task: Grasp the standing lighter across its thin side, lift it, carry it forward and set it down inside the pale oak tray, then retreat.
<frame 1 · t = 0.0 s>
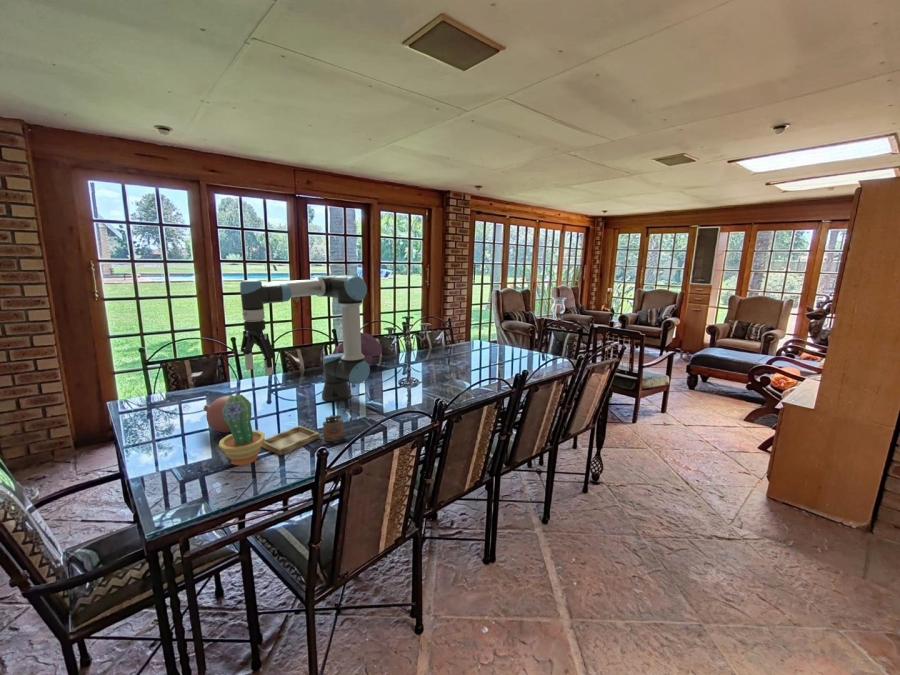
hand: (259, 372, 160), 28 cm above the table, fingers open, 13 cm apart
brown rounded piece: (225, 430, 172), on the table
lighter: (334, 439, 165), on the table
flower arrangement: (353, 371, 261), on the table
tray: (290, 441, 162), on the table
potted cactus: (244, 459, 148), on the table
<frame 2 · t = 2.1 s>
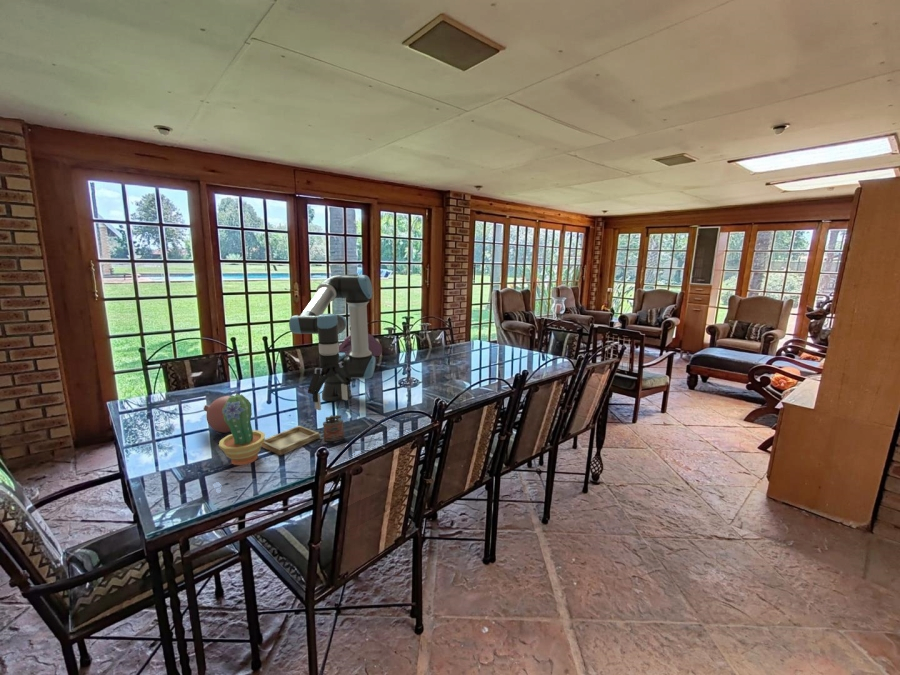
hand: (331, 404, 162), 15 cm above the table, fingers open, 13 cm apart
nothing on the table moved.
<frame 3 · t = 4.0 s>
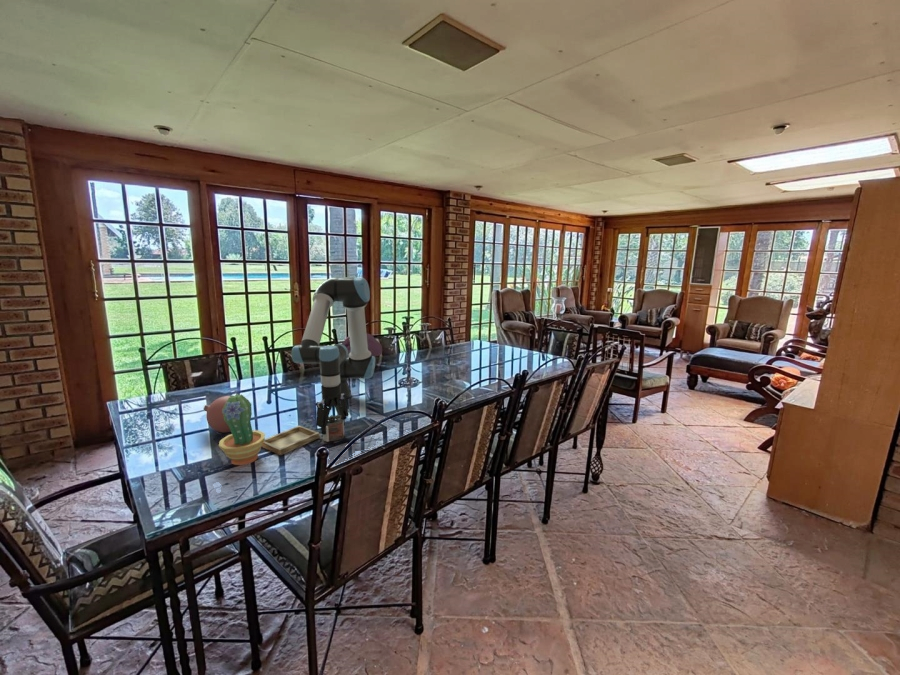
hand: (333, 437, 165), 1 cm above the table, fingers closed on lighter, 7 cm apart
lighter: (334, 438, 165), on the table, touching gripper
everything else where it was.
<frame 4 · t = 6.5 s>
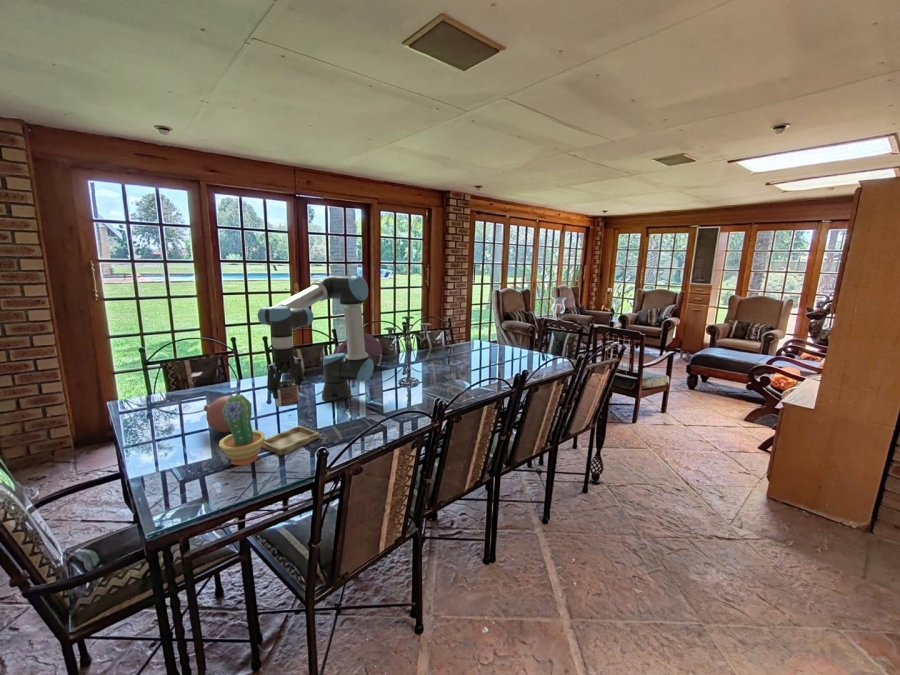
hand: (287, 402, 158), 17 cm above the table, fingers closed on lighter, 7 cm apart
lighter: (287, 404, 158), point 16 cm above the table, touching gripper
everything else where it was.
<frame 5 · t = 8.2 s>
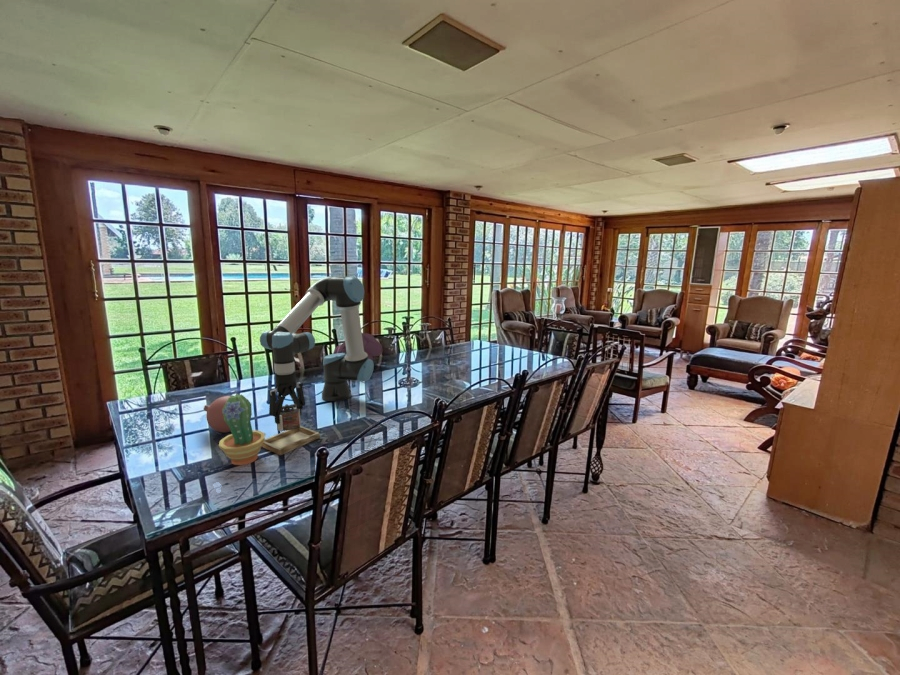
hand: (289, 427, 160), 7 cm above the table, fingers closed on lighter, 7 cm apart
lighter: (289, 428, 160), point 6 cm above the table, touching gripper
everything else where it was.
when the fingers open (2 cm above the table, at t = 9.5 s): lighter stays where it is, resting on tray.
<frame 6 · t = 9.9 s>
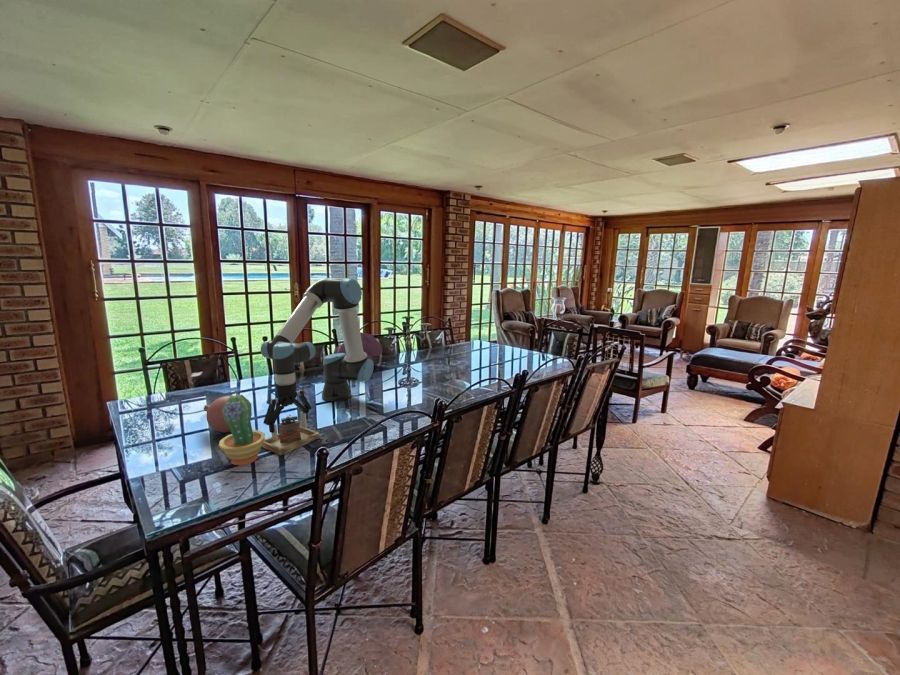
hand: (290, 433, 161), 4 cm above the table, fingers open, 13 cm apart
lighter: (290, 440, 162), resting on tray
everything else where it was.
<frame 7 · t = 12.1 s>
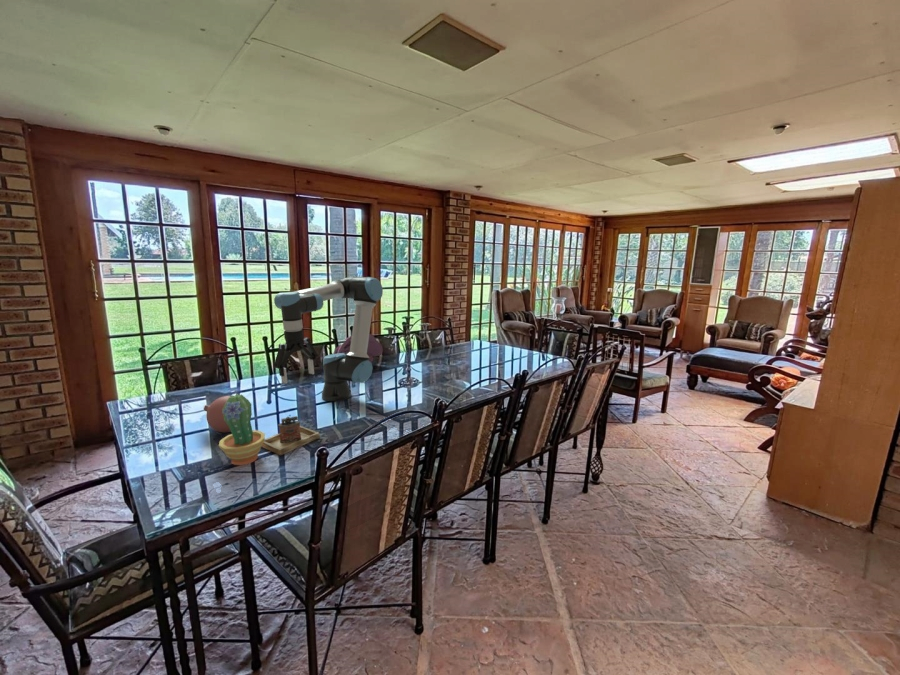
hand: (298, 378, 171), 23 cm above the table, fingers open, 13 cm apart
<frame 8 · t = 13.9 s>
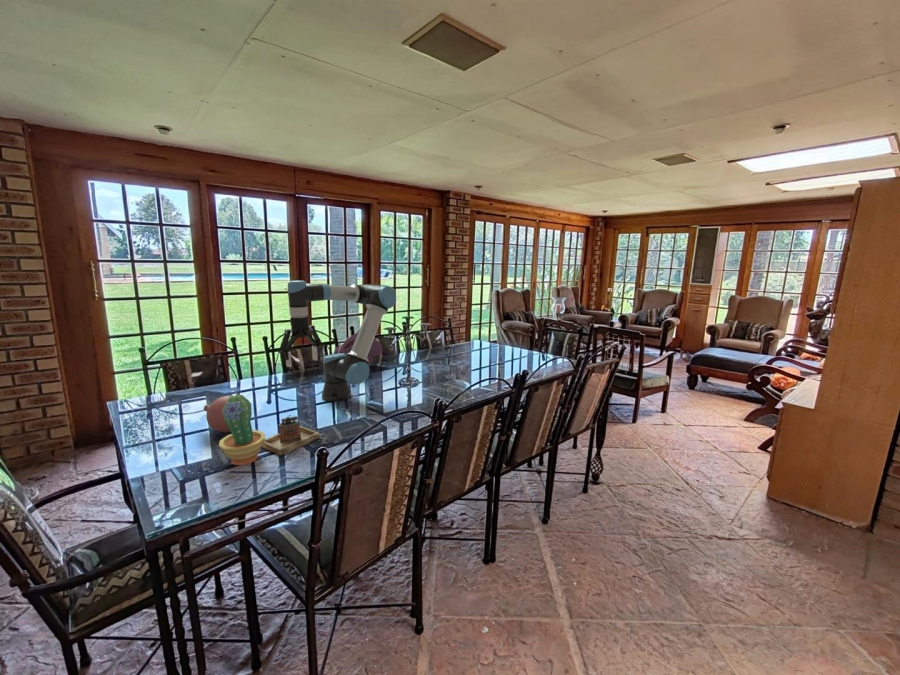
hand: (302, 363, 178), 27 cm above the table, fingers open, 13 cm apart
at the end: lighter inside the target area on the tray (0.1 cm from its centre), point 0.4 cm above the tray's base; the gripper is holding nothing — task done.
